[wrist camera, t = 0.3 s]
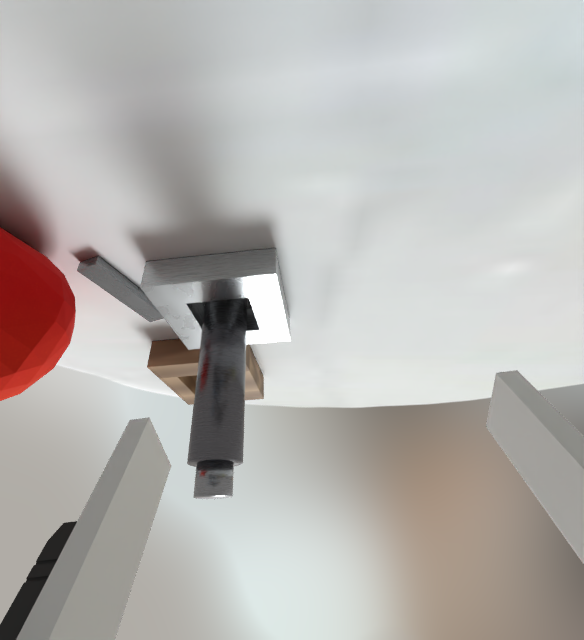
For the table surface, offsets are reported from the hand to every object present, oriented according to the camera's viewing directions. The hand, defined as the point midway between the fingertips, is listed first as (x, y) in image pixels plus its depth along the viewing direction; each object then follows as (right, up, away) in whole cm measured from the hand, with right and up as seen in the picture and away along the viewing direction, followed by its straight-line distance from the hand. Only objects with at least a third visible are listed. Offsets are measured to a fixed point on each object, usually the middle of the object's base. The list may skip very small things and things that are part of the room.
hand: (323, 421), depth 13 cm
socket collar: (-7, +6, +17) cm, 19 cm away
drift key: (-15, +7, +16) cm, 23 cm away
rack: (-11, -1, +28) cm, 30 cm away
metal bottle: (-7, +6, +17) cm, 19 cm away
